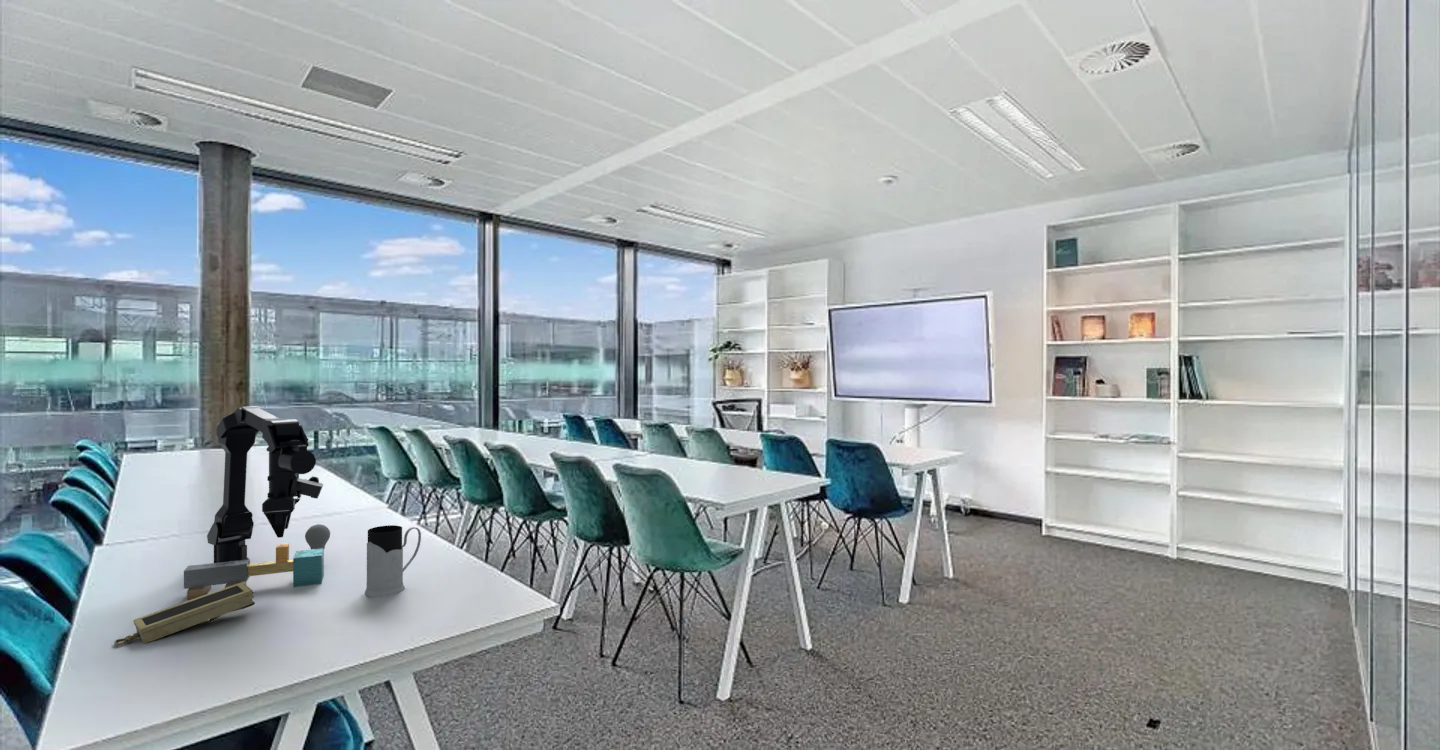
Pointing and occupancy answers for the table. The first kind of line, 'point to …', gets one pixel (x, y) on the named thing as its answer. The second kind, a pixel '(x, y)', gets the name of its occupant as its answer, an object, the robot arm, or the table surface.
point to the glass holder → (386, 560)
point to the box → (190, 613)
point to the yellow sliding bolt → (273, 563)
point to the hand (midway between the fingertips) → (282, 532)
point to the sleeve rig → (233, 572)
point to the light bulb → (317, 536)
